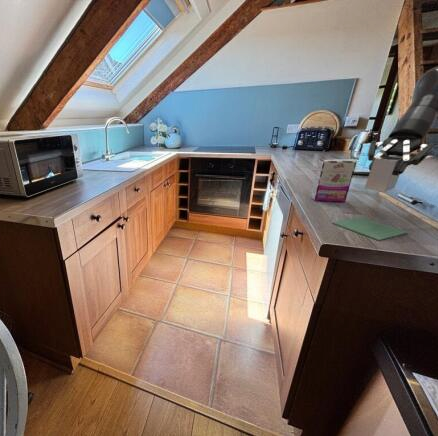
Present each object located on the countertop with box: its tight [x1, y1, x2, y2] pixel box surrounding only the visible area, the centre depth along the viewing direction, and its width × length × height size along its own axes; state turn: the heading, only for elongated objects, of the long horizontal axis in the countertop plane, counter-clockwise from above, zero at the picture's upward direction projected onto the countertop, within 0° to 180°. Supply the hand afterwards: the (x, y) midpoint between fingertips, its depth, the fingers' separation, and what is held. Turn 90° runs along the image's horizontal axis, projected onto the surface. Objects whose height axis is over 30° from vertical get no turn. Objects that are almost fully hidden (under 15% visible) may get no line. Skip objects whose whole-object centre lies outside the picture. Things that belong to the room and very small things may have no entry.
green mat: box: [332, 216, 408, 242], centre depth 75 cm, size 13×13×1 cm
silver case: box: [364, 155, 403, 193], centre depth 72 cm, size 5×8×9 cm, turn 122°
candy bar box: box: [310, 158, 358, 203], centre depth 98 cm, size 11×5×16 cm, turn 76°
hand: (383, 172), depth 71 cm, fingers closed on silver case, 5 cm apart
